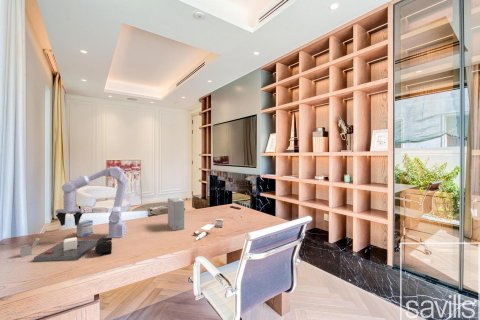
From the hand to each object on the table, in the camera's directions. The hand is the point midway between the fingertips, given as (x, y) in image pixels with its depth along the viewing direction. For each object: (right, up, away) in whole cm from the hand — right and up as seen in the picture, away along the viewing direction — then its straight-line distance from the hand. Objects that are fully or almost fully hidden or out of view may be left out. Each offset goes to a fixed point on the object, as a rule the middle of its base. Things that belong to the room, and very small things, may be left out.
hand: (69, 225), depth 128 cm
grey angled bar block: (-7, -11, -17) cm, 21 cm away
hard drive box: (+55, -10, +28) cm, 62 cm away
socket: (+10, -10, -13) cm, 19 cm away
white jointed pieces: (+79, -11, +17) cm, 81 cm away
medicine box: (+1, -10, +11) cm, 15 cm away
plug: (+10, -10, -13) cm, 19 cm away
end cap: (+28, -11, -13) cm, 33 cm away
